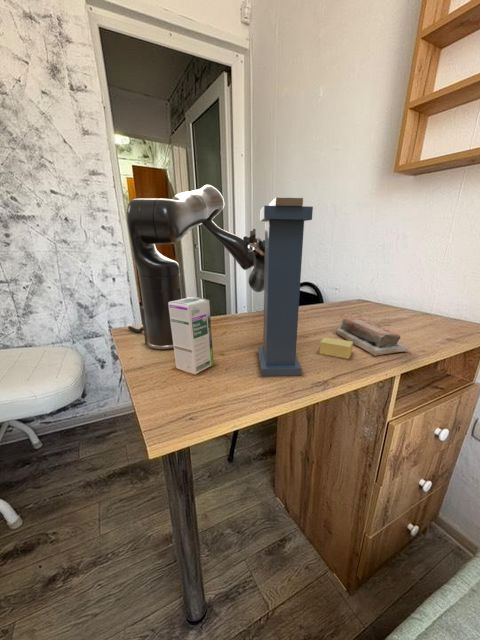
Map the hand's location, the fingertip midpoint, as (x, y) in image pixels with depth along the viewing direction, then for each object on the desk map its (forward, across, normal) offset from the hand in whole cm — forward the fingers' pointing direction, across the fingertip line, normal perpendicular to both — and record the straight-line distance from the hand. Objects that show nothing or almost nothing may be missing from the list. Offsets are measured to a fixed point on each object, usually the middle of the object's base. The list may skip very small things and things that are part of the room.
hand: (270, 232), depth 78 cm
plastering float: (-3, +26, +29) cm, 39 cm away
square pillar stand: (+8, 0, +36) cm, 36 cm away
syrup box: (+9, -18, +36) cm, 41 cm away
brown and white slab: (+19, 0, +6) cm, 20 cm away
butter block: (+3, +15, +33) cm, 36 cm away
